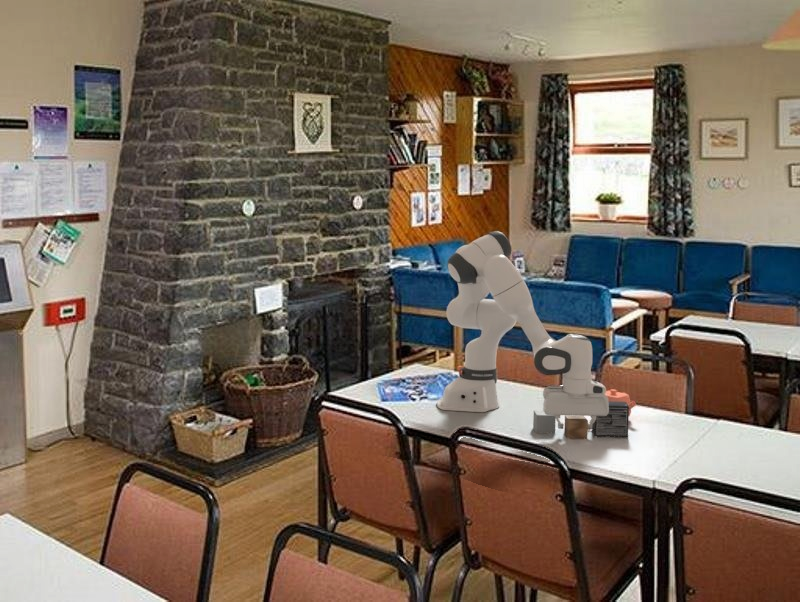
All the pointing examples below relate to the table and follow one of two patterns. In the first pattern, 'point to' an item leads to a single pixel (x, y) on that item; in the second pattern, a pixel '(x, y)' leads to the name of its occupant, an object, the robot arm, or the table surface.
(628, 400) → the teapot
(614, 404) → the small box
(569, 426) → the walnut cube
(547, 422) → the slate cube
